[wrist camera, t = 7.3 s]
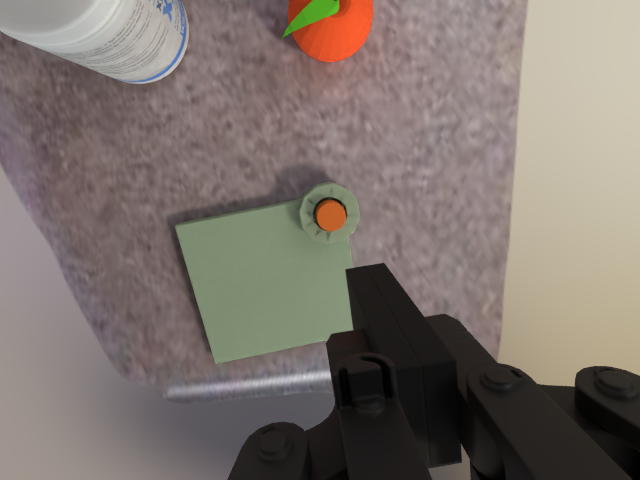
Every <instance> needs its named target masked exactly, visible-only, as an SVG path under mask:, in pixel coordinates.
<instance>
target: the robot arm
mask: <svg viewBox="0 0 640 480" xmlns="http://www.w3.org/2000/svg"><path fill="white" fill-rule="evenodd" d="M345 272H346V279H347V287H348V294H349V302H350V309H351V317H352V324H353V330H351V331H345V332H339V333H332V334H331V335H330V337H329V339H328V341H327V343H326V346H327V353H328V359H329V366H330V372H331V378H332V385H333V391H334V397H335V406H334V409H333V411H332V413H331V414H330V415H329V417H328V418H327V419H325V420H324V421H323V422H322V423H320V424H318V425H317V426H315V427H313V428H311V429H309V430H306V431H304V430H303V429H302V428H301V427H299V426H297V425H296V424H294V423H288V422H278V423H271V424H269V425H266V426H264V427H262V428H259V429H258V430H257V431H256V432H254V433H253V434H252V435H250V436H249V437H248V439H247V440H246V442H245V443H244V445H243V446H242V448H241V450H240V453H239V455H238V457H237V460H236V462H235V464H234V466H233V468H232V471H231V473H230V475H229V477H228V480H432V478H431V476H430V473H429V471H428V468H434V467H439V466H445V465H451V464H456V463H461V462H462V458H461V444H462V446H463V448H464V449H465V451H466V453H467V455H468V456H469V458H470V473H471V480H640V376H638V375H636V374H633V373H631V372H628V371H626V370H622V369H618V368H613V367H607V366H593V367H588V368H584V369H582V370H580V371H579V372H578V373H577V374H576V378H575V387H571V386H551V385H540V384H537V383H536V382H535V381H533V379H532V378H531V377H529V376H528V375H527V374H526V373H524V372H523V371H521V370H520V369H517V368H515V367H512V366H509V365H506V364H500V363H497V362H496V361H495V360H494V358H493V357H492V356H491V355H490V354H489V353H488V352H487V351H486V350H485V349H484V348H483V347H482V345H481V344H480V343H479V342H478V341H477V340H476V339H474V337H473V336H472V335H471V334H470V332H469V331H468V332H467V329H466V328H465V327H464V326H463V325H462V324H461V323H460V322H459V321H458V320H456V319H454V318H452V317H450V316H448V315H446V314H440V315H434V316H428V317H424V316H423V315H422V313H421V312H420V311H419V309H418V308H417V307H416V305H415V304H414V302H413V301H412V300H411V298H410V297H409V296H408V294H407V293H406V292H405V290H404V289H403V288H402V286H401V285H400V284H399V282H398V281H397V280H396V278H395V277H394V276H393V274H392V273H391V272H390V270H389V269H388V268H387V266H386V265H385V264H384V263H381V264H375V265H368V266H362V267H356V268H350V269H345Z"/></svg>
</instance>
